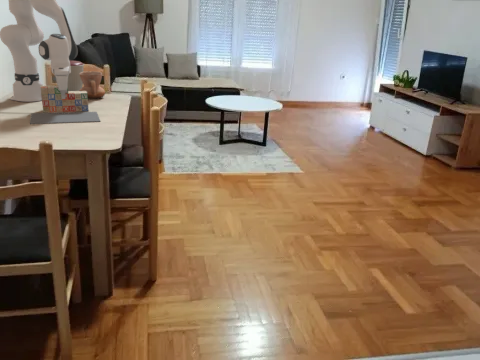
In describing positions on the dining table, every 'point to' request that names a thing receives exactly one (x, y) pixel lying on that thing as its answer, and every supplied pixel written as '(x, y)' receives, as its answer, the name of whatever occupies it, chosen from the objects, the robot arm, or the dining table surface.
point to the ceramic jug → (92, 84)
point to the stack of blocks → (63, 100)
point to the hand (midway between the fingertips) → (63, 97)
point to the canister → (75, 76)
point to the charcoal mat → (64, 117)
